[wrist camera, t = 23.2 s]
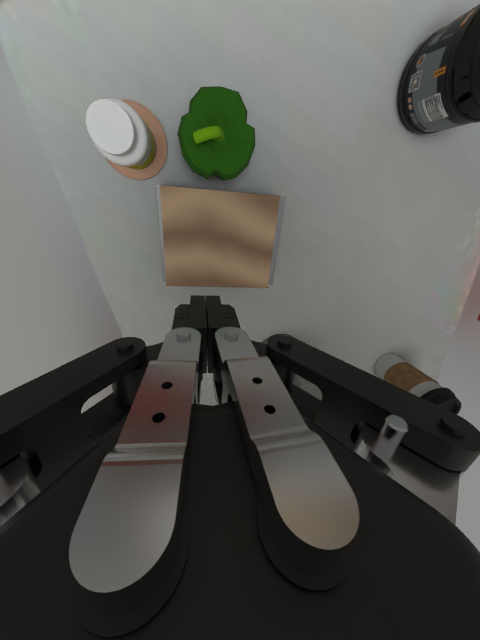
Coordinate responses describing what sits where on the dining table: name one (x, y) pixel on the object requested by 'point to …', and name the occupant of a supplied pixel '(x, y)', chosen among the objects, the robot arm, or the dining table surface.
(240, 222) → the tan flat square panel
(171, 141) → the dining table surface
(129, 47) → the dining table surface
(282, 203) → the rails
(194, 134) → the bell pepper
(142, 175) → the coaster
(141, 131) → the supplement bottle
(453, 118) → the supplement container
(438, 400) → the coffee cup
